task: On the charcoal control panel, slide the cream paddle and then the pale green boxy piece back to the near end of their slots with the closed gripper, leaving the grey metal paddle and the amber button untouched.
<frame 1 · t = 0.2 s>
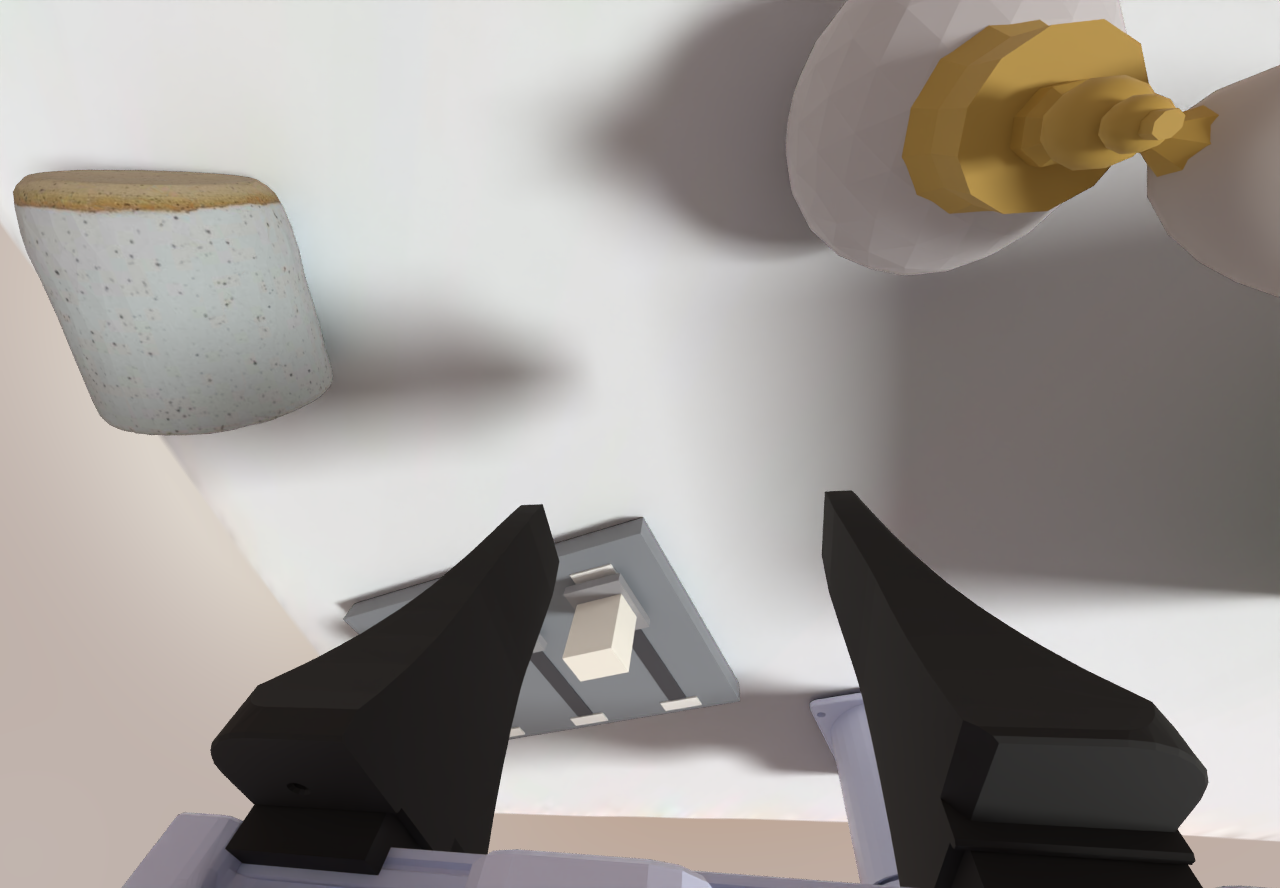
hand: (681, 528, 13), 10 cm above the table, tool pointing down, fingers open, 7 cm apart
panel: (546, 643, 32), on the table
pale green boxy piece: (496, 656, 28), point 3 cm above the table, slide at 8.0 cm
ceramic mug: (244, 276, 22), on the table
paddle cream: (602, 632, 26), point 3 cm above the table, slide at 8.0 cm
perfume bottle: (929, 116, 16), on the table
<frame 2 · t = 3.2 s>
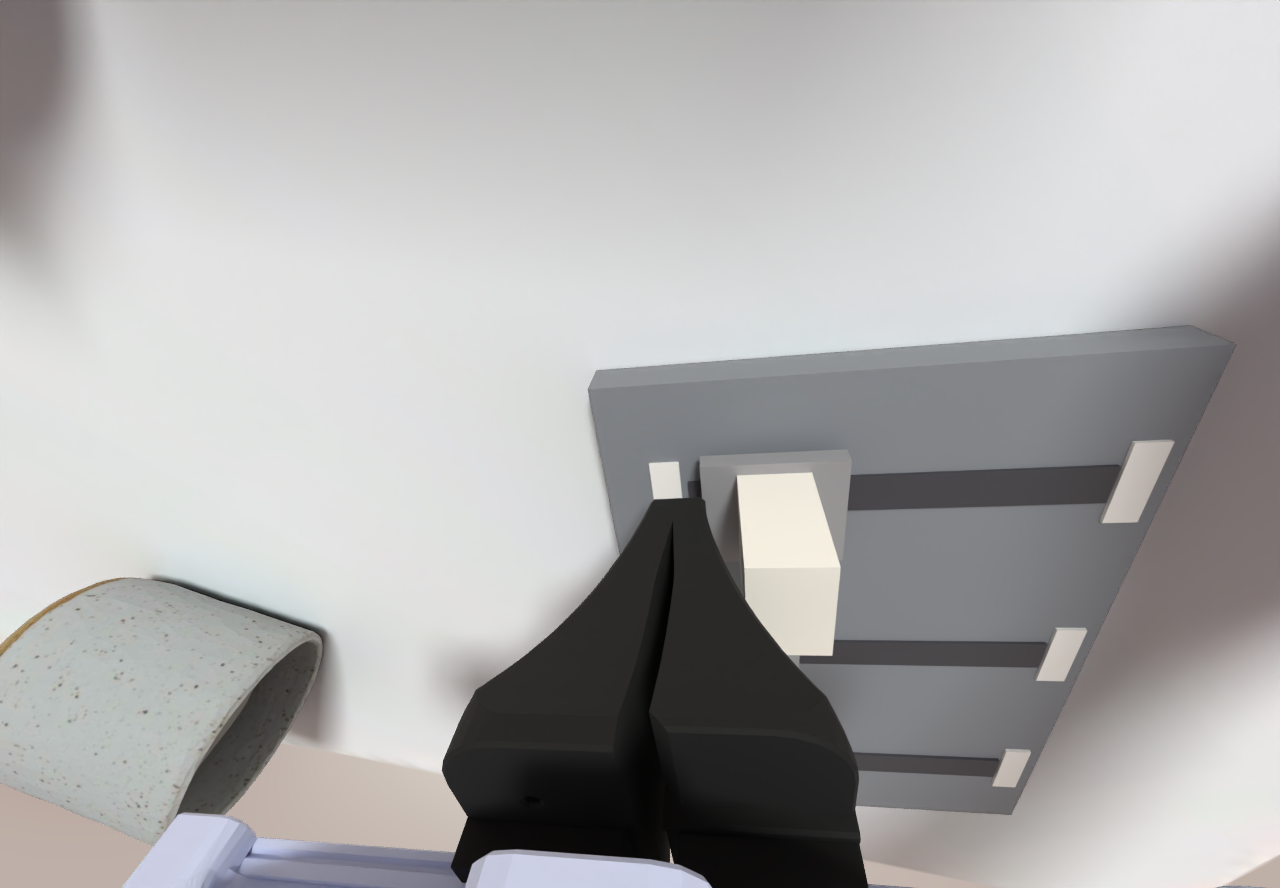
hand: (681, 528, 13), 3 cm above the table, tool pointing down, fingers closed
panel: (840, 621, 18), on the table
pale green boxy piece: (743, 713, 16), point 3 cm above the table, slide at 8.0 cm
ceramic mug: (247, 634, 23), on the table
paddle cream: (779, 551, 12), point 3 cm above the table, slide at 7.0 cm, touching gripper
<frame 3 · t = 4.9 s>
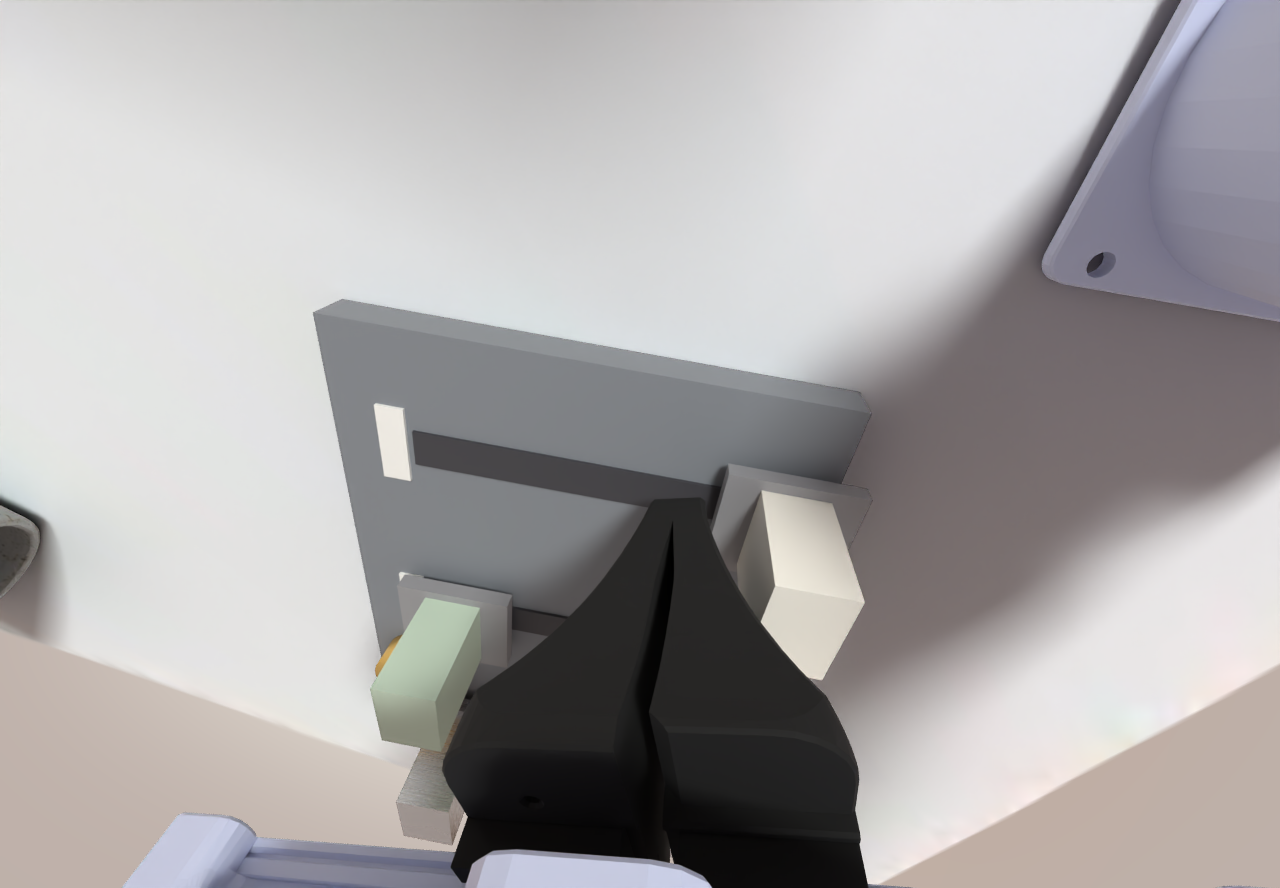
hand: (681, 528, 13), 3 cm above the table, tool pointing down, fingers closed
panel: (571, 599, 19), on the table
pale green boxy piece: (436, 664, 16), point 3 cm above the table, slide at 8.0 cm
paddle cream: (788, 572, 13), point 3 cm above the table, slide at -1.2 cm, touching gripper
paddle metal: (447, 768, 20), point 3 cm above the table, slide at 8.0 cm
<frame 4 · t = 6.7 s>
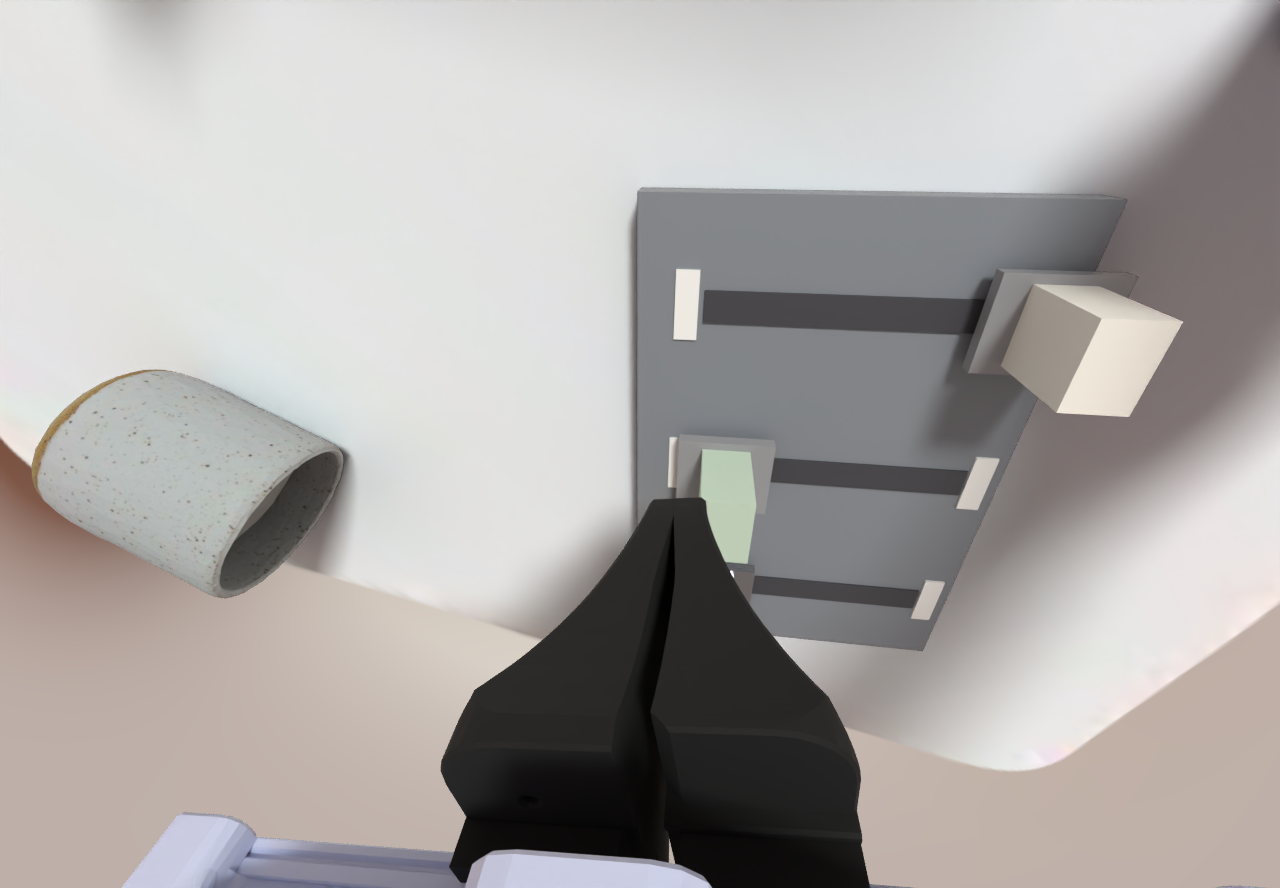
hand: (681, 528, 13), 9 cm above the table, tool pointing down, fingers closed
panel: (807, 455, 22), on the table
pale green boxy piece: (723, 499, 19), point 3 cm above the table, slide at 8.0 cm
ceramic mug: (271, 454, 26), on the table
paddle cream: (1073, 343, 15), point 3 cm above the table, slide at -1.3 cm
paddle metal: (710, 618, 23), point 3 cm above the table, slide at 8.0 cm
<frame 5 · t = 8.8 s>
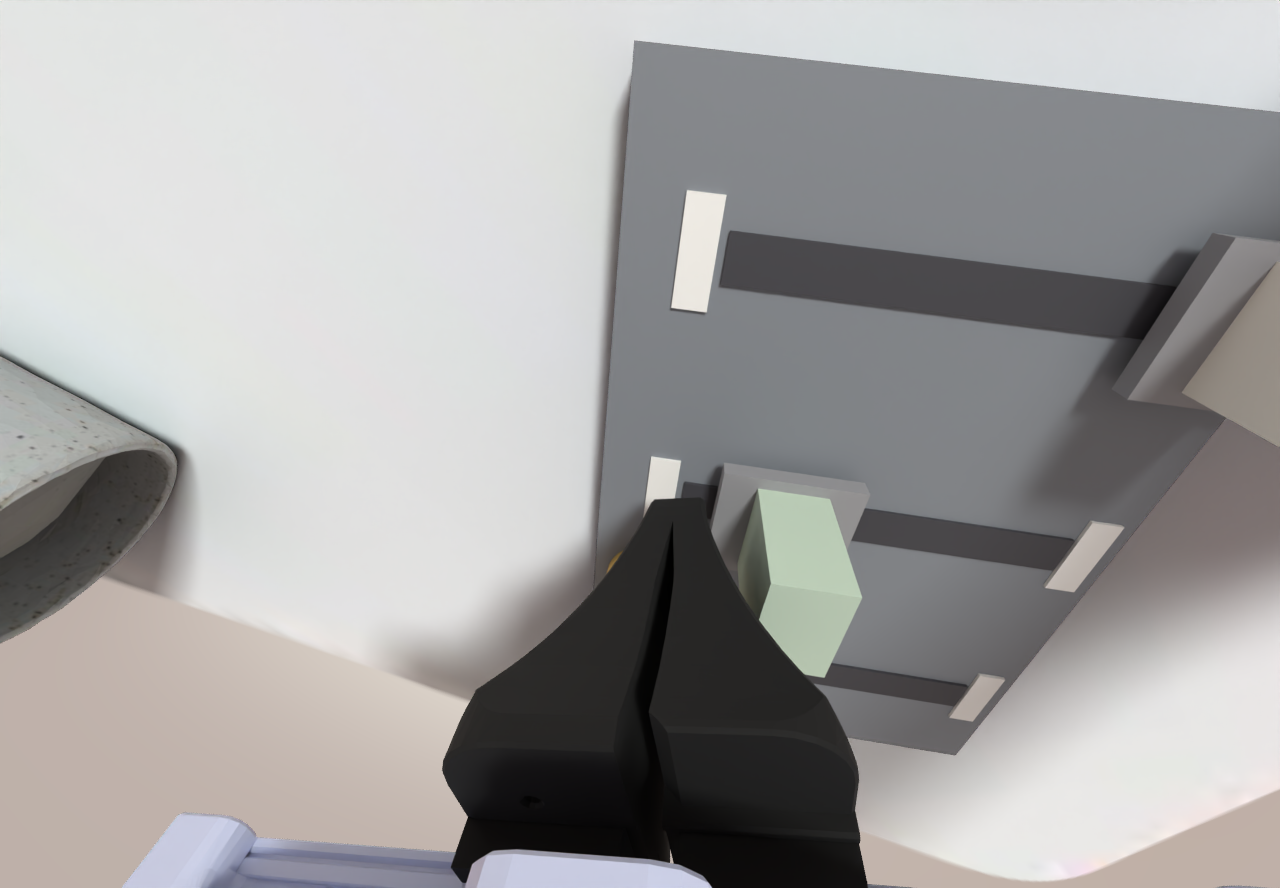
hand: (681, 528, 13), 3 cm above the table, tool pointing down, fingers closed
panel: (841, 496, 15), on the table
pale green boxy piece: (787, 569, 12), point 3 cm above the table, slide at 6.5 cm, touching gripper
ceramic mug: (78, 442, 18), on the table
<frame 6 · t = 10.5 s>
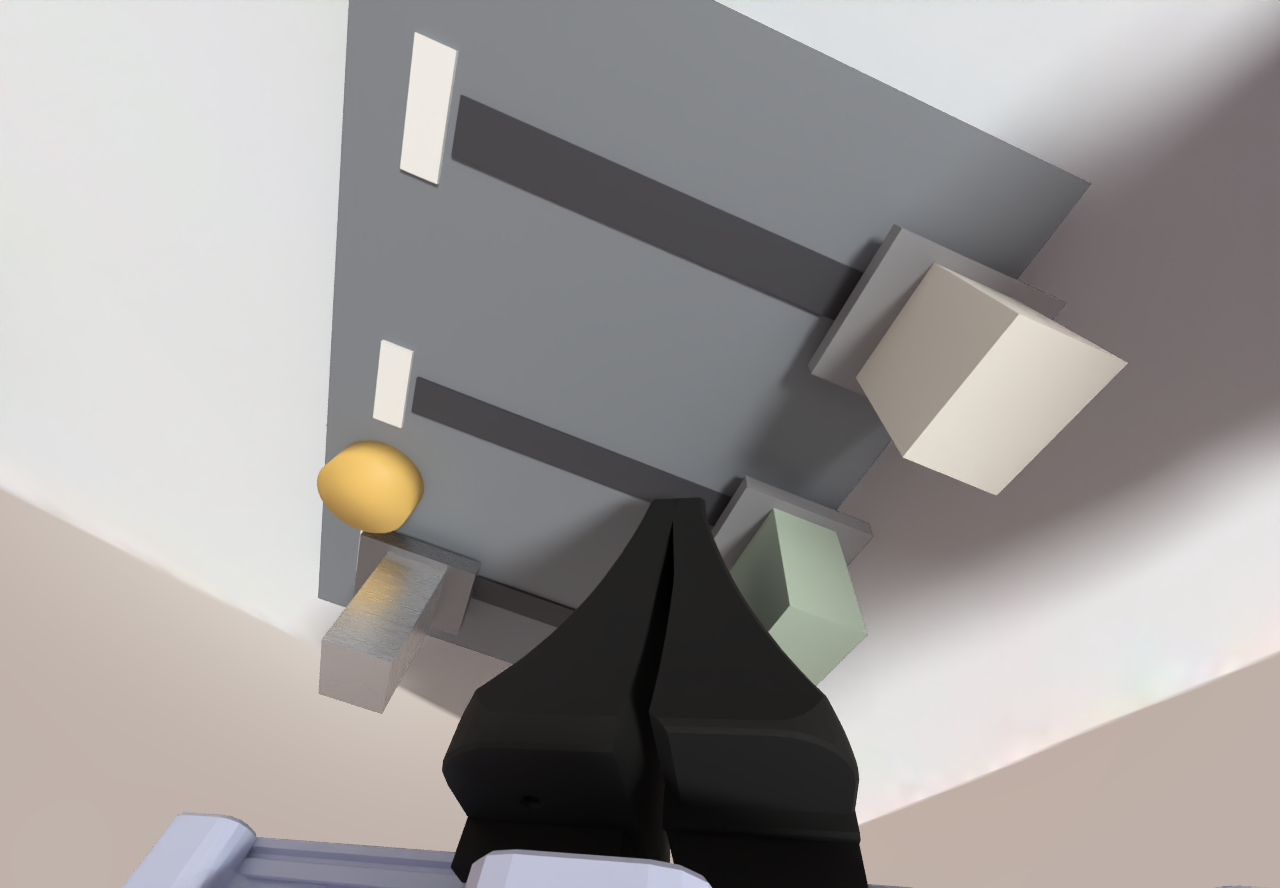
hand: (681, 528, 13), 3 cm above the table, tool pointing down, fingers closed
panel: (589, 435, 15), on the table
pale green boxy piece: (786, 591, 13), point 3 cm above the table, slide at -1.4 cm, touching gripper
paddle cream: (957, 366, 9), point 3 cm above the table, slide at -1.3 cm
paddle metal: (389, 622, 15), point 3 cm above the table, slide at 8.0 cm
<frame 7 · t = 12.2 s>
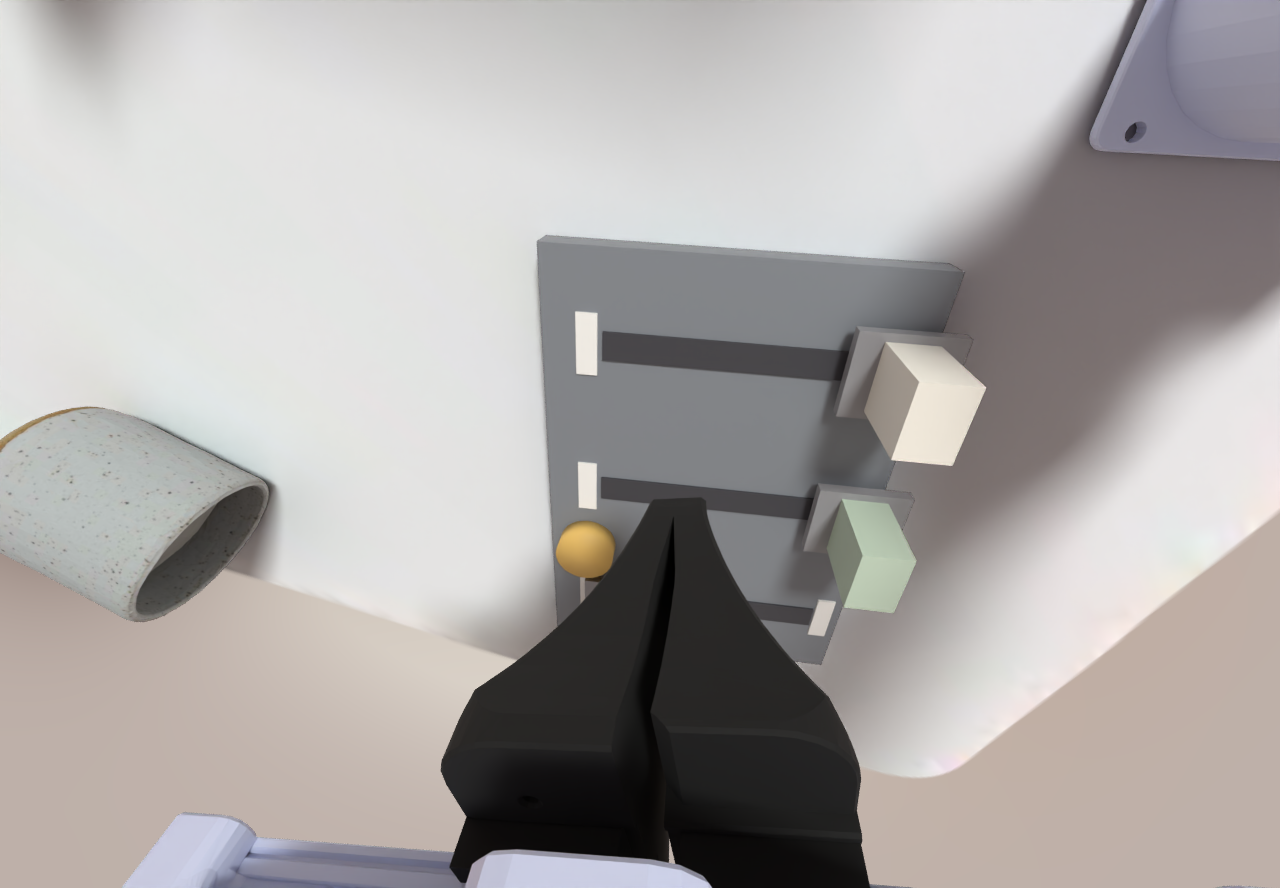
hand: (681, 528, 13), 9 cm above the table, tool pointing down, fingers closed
panel: (709, 481, 23), on the table
pale green boxy piece: (865, 549, 20), point 3 cm above the table, slide at -1.5 cm
ceramic mug: (201, 482, 27), on the table
paddle cream: (914, 397, 17), point 3 cm above the table, slide at -1.3 cm
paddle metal: (617, 631, 24), point 3 cm above the table, slide at 8.0 cm
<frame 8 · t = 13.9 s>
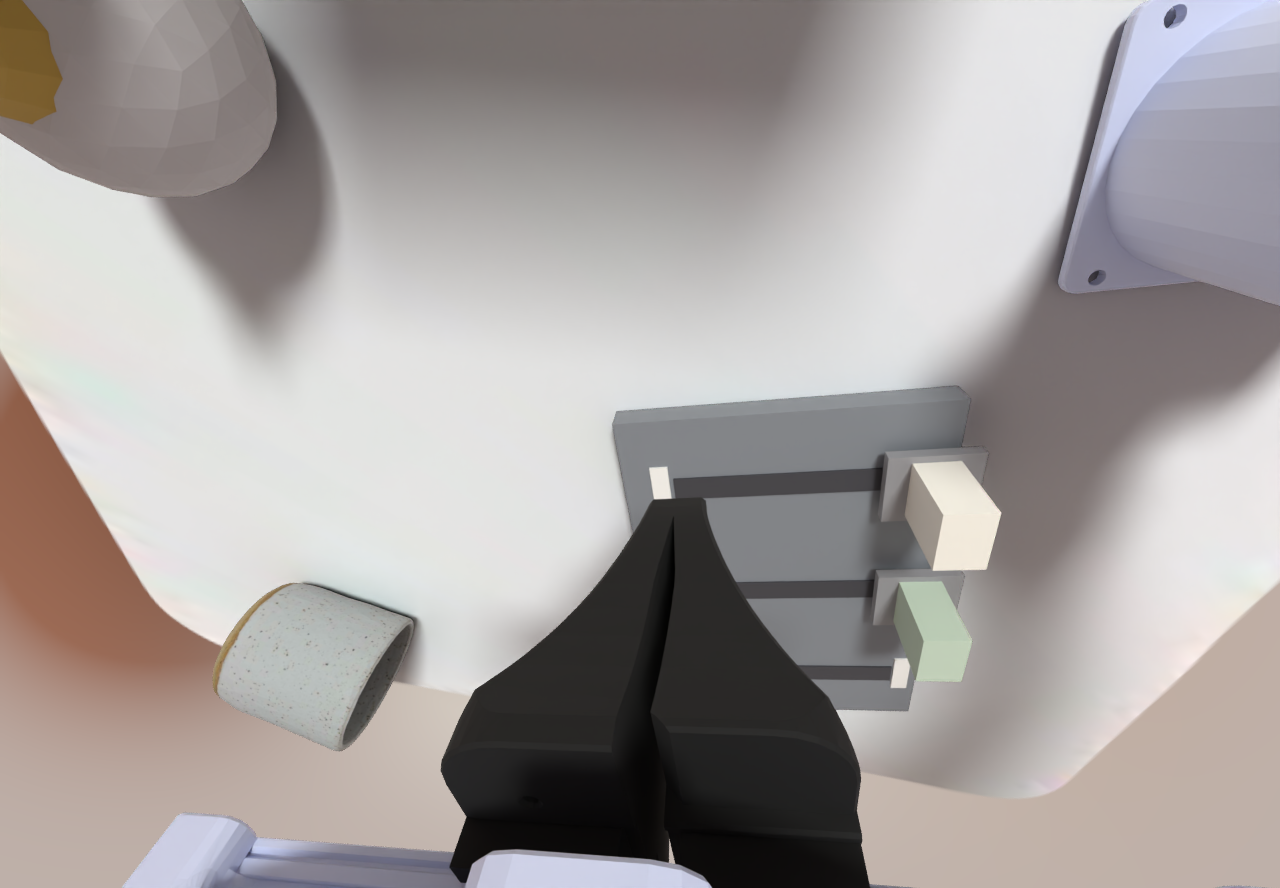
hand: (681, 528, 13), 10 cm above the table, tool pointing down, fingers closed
panel: (779, 571, 27), on the table
pale green boxy piece: (927, 625, 23), point 3 cm above the table, slide at -1.5 cm
ceramic mug: (360, 621, 34), on the table
paddle cream: (945, 510, 20), point 3 cm above the table, slide at -1.3 cm
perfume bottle: (208, 25, 17), on the table
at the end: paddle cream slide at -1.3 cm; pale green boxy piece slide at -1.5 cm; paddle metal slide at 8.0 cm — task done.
